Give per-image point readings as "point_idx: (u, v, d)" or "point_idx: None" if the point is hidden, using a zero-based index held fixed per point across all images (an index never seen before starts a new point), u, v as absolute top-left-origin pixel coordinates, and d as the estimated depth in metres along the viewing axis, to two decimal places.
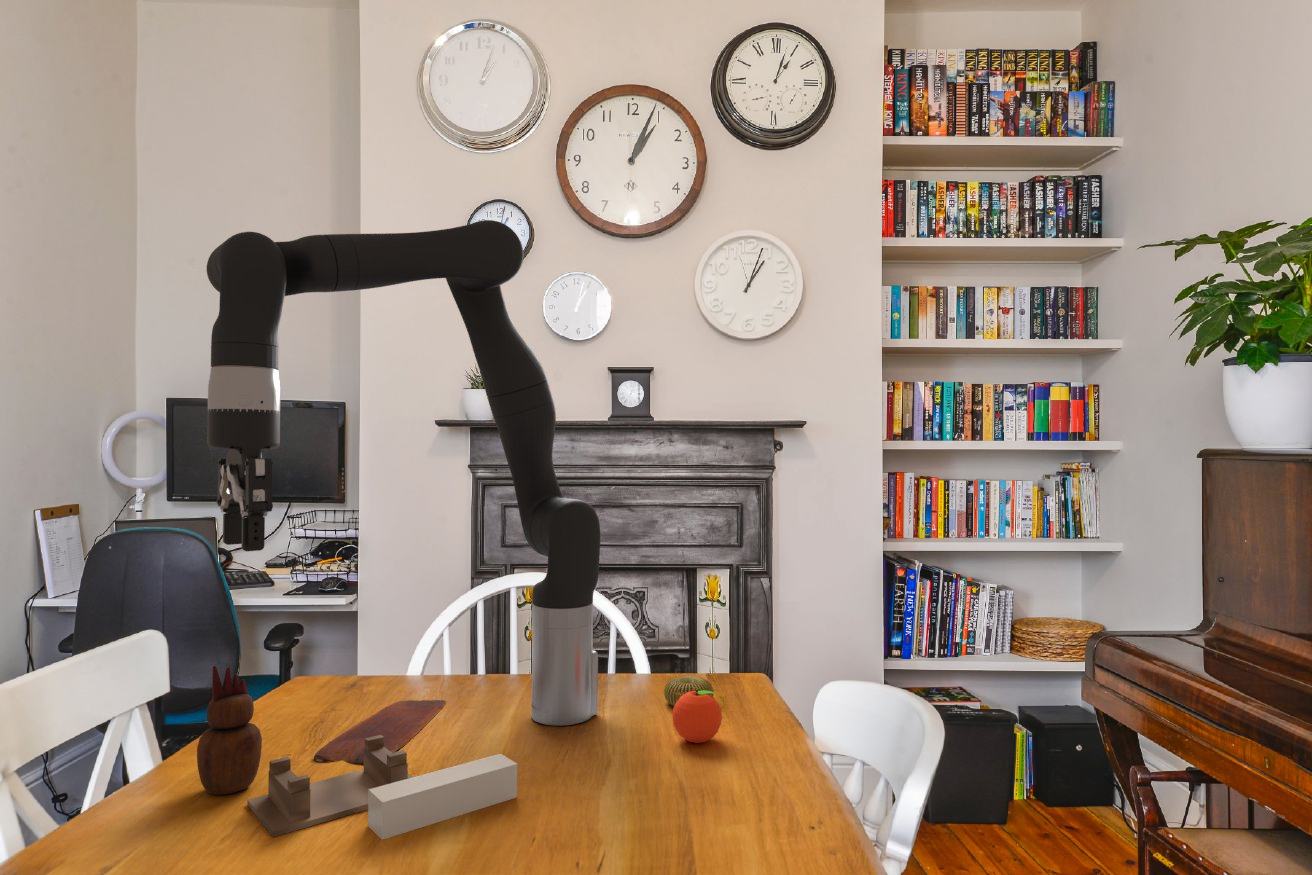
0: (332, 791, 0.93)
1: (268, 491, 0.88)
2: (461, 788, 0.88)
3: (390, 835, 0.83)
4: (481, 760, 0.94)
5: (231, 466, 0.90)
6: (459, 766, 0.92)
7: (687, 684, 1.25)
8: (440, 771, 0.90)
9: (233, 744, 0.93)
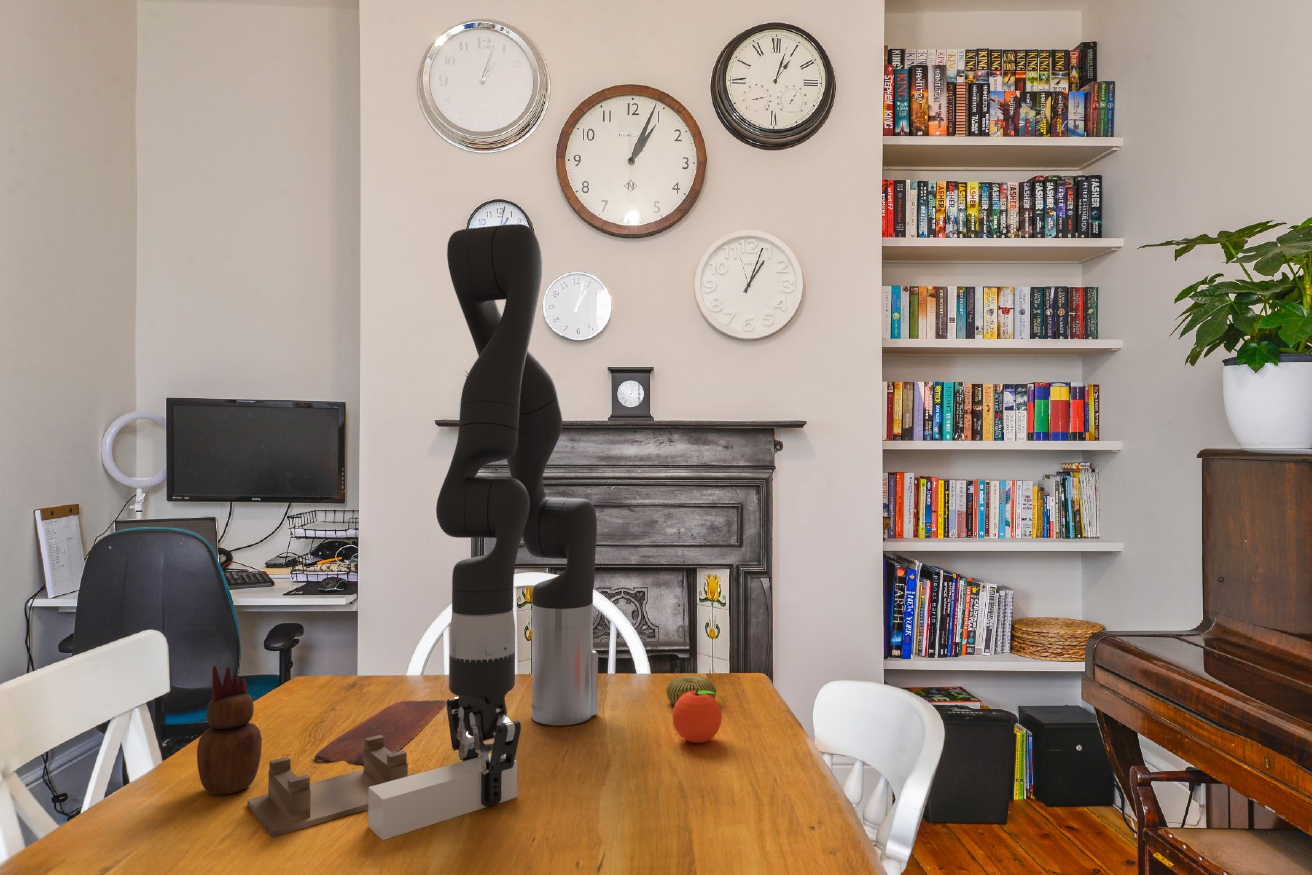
0: (332, 791, 0.93)
1: (512, 753, 0.89)
2: (461, 785, 0.88)
3: (391, 832, 0.83)
4: None
5: (476, 715, 0.90)
6: (459, 764, 0.92)
7: (690, 684, 1.25)
8: (440, 769, 0.90)
9: (233, 744, 0.93)
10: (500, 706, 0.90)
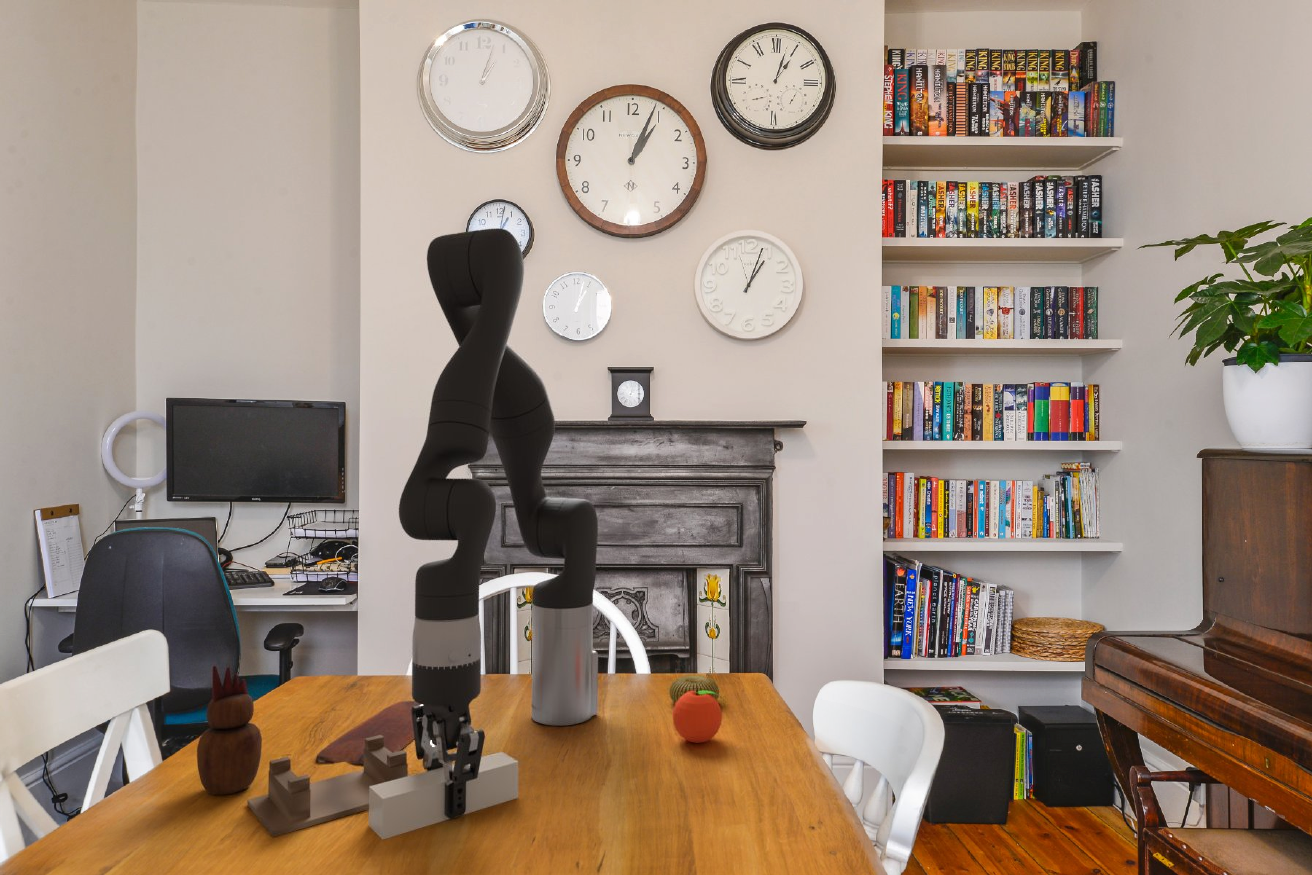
0: (332, 791, 0.93)
1: (476, 764, 0.86)
2: None
3: (390, 832, 0.83)
4: (482, 758, 0.94)
5: (439, 724, 0.87)
6: None
7: (693, 684, 1.25)
8: (441, 769, 0.90)
9: (233, 744, 0.93)
10: (464, 714, 0.87)
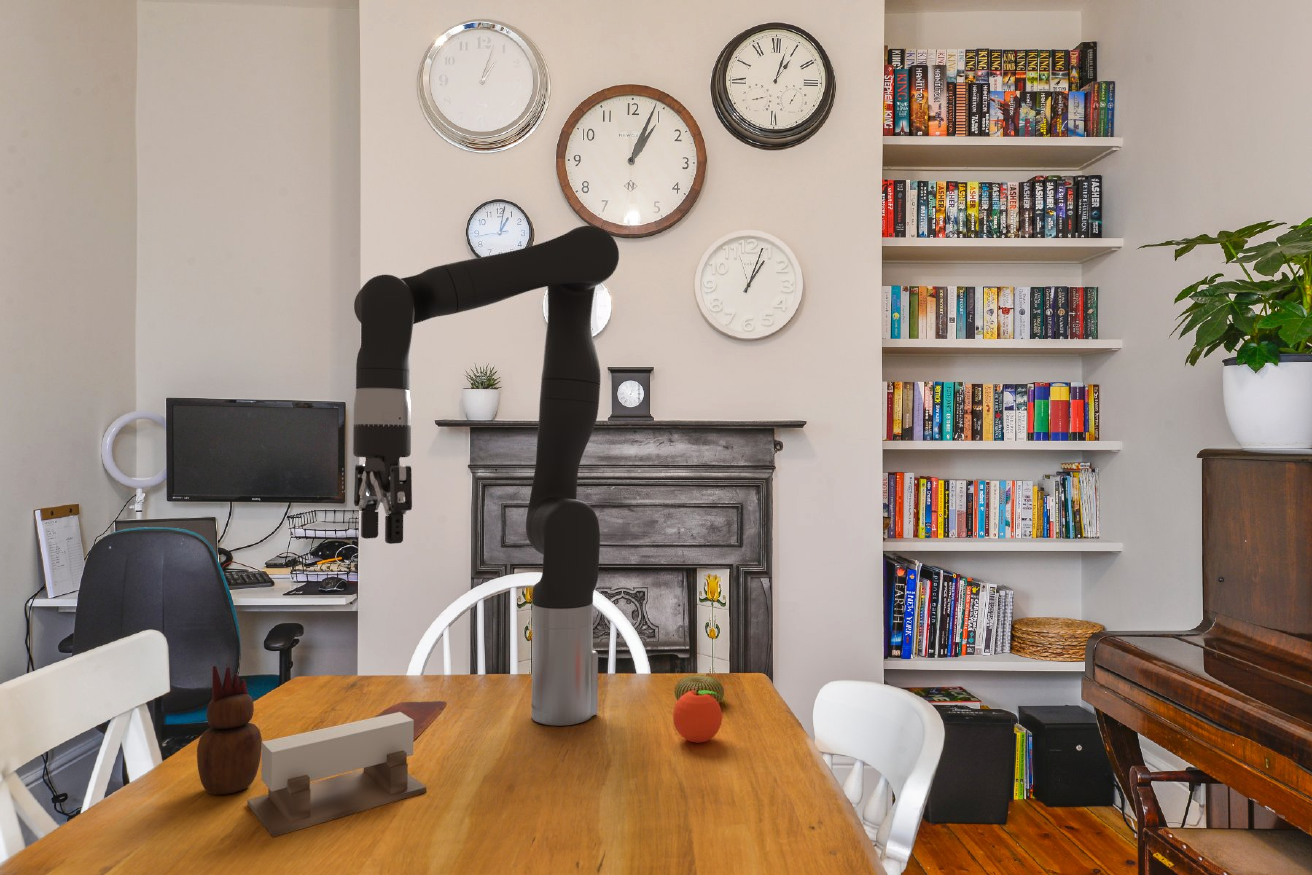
0: (332, 791, 0.93)
1: (409, 493, 1.05)
2: (355, 741, 0.92)
3: (280, 784, 0.86)
4: (379, 717, 0.97)
5: (374, 472, 1.07)
6: (356, 722, 0.95)
7: (698, 684, 1.26)
8: (336, 727, 0.94)
9: (233, 744, 0.93)
10: None
